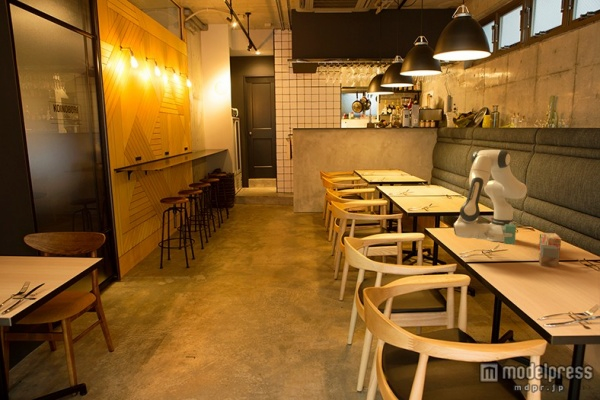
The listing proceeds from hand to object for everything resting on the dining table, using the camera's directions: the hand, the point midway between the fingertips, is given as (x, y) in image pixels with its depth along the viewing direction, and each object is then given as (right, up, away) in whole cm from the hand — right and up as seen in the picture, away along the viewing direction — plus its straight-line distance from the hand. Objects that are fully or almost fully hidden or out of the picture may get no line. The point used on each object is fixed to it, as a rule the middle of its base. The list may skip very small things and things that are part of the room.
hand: (511, 233), depth 230 cm
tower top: (+17, -12, -5) cm, 22 cm away
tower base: (+17, -17, -4) cm, 24 cm away
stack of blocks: (+29, -13, +15) cm, 35 cm away
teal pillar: (-1, -5, +1) cm, 6 cm away
